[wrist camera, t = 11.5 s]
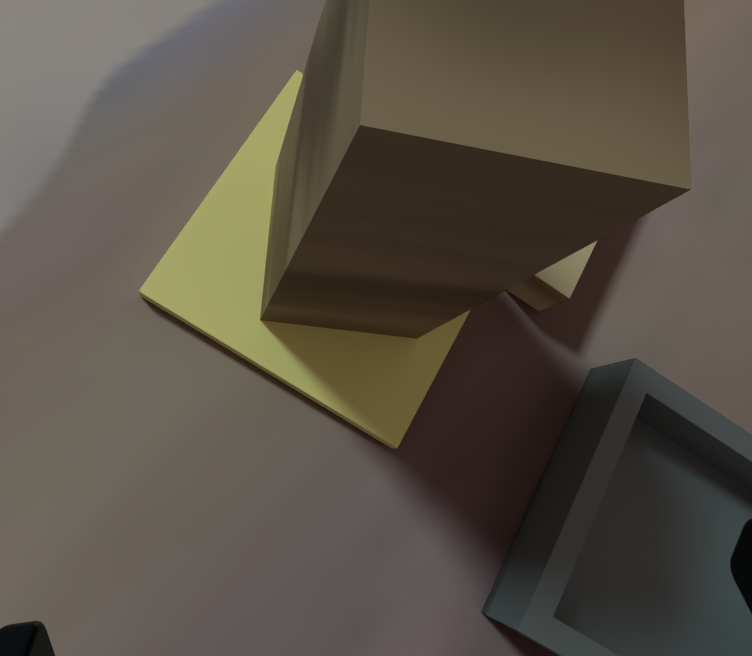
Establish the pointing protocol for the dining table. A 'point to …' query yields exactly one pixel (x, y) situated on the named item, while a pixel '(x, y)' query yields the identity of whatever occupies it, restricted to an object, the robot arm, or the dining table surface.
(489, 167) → the walnut block
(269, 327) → the pad
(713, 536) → the charcoal tray
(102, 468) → the dining table surface
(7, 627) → the robot arm
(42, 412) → the dining table surface
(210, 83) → the dining table surface
